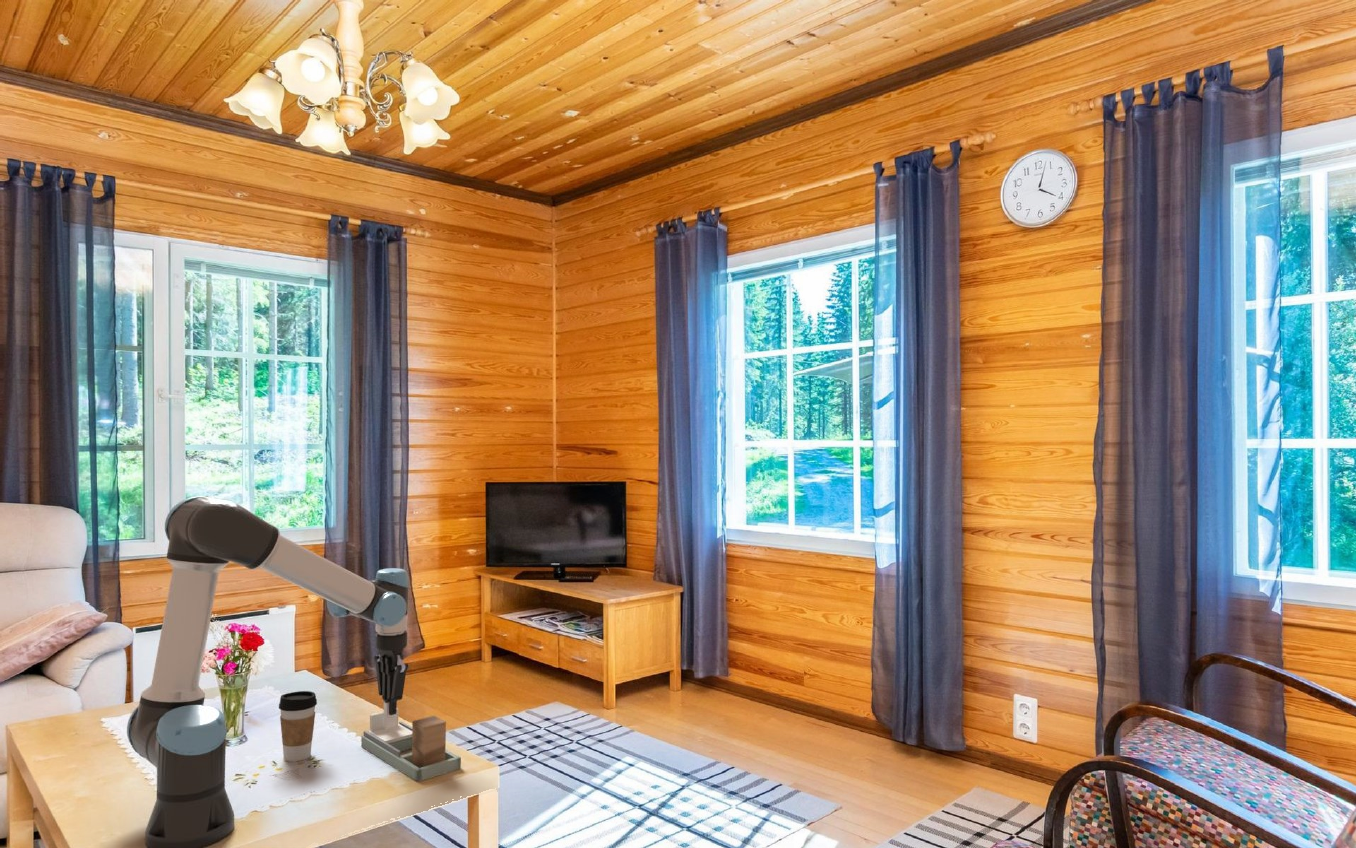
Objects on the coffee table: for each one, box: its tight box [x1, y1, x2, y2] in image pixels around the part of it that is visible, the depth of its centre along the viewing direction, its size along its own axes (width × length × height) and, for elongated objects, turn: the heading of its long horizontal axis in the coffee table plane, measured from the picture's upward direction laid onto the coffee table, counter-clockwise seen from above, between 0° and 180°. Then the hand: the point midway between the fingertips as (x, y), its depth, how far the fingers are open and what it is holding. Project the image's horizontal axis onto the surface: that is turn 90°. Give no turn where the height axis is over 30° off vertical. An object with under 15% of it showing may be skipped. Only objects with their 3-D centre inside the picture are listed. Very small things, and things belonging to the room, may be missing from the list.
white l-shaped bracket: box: [367, 708, 412, 744], centre depth 214 cm, size 9×8×5 cm
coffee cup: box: [278, 690, 318, 762], centre depth 207 cm, size 8×8×15 cm
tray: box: [360, 721, 462, 782], centre depth 208 cm, size 28×11×4 cm, turn 45°
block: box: [411, 715, 447, 768], centre depth 201 cm, size 6×6×11 cm
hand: (389, 726), depth 215 cm, fingers closed
